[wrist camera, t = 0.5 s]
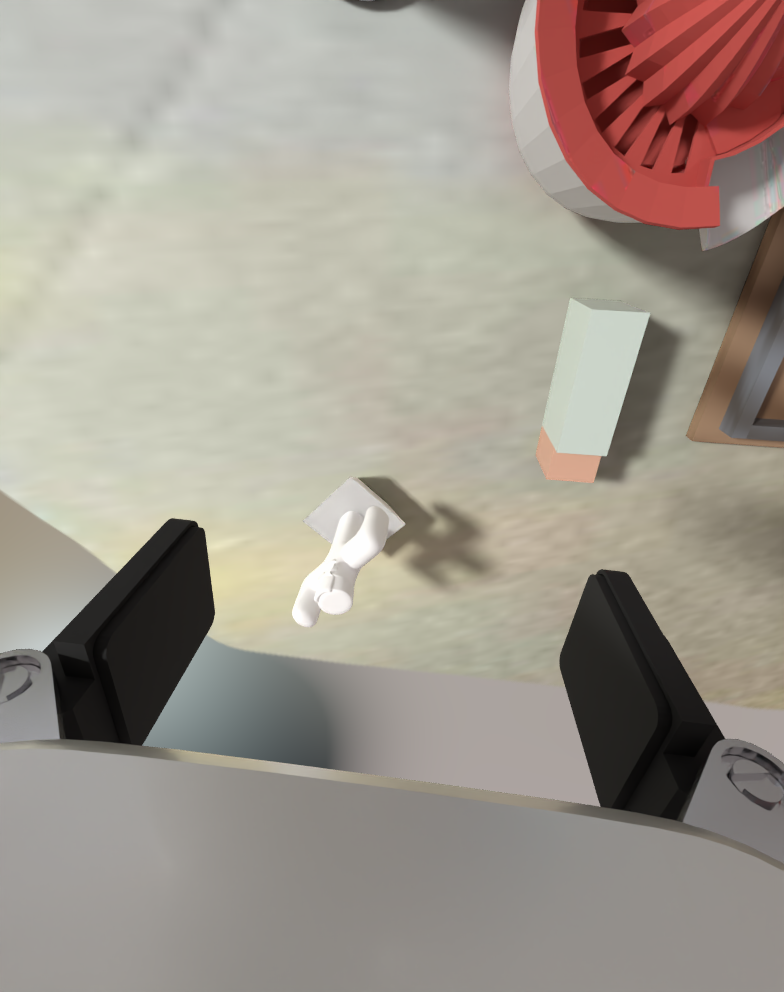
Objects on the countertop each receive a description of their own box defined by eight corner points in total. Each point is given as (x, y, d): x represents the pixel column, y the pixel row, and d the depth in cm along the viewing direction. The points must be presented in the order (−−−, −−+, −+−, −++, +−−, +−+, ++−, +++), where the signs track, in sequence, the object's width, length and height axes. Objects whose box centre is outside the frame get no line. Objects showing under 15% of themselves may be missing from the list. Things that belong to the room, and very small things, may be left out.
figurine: (415, 498, 48) (408, 598, 35) (354, 548, 52) (328, 655, 39) (363, 452, 46) (336, 541, 33) (304, 508, 50) (259, 607, 37)
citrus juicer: (550, 290, 38) (648, 346, 21) (450, 43, 31) (471, -186, 14) (764, 168, 33) (1130, 106, 16) (702, -158, 26) (1235, -914, 9)
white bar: (570, 297, 38) (591, 309, 33) (620, 300, 38) (650, 312, 33) (535, 454, 45) (549, 484, 40) (578, 457, 45) (596, 488, 40)
